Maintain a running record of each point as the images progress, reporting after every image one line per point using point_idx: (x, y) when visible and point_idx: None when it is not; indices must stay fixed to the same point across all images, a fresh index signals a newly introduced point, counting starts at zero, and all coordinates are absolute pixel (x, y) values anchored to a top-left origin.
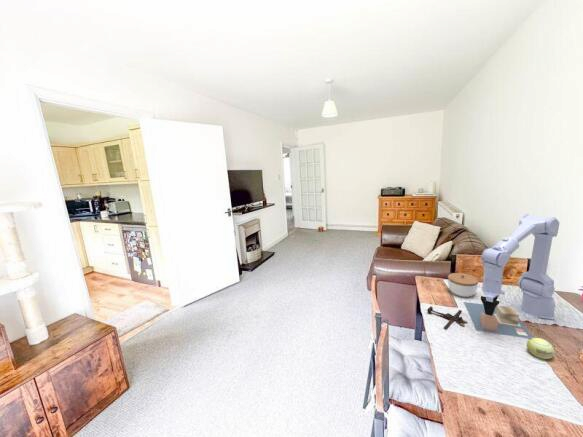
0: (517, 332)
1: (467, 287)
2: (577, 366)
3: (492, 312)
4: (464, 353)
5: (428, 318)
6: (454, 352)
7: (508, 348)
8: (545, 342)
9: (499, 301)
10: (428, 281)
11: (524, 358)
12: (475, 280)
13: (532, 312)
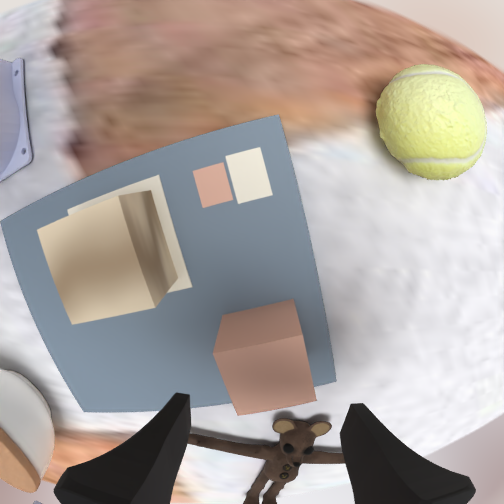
0: (251, 198)
1: (20, 438)
2: (395, 13)
3: (379, 425)
4: (483, 377)
5: (310, 491)
6: (481, 397)
7: (419, 250)
8: (473, 99)
9: (441, 499)
10: None
11: (459, 194)
12: None
13: (8, 131)
